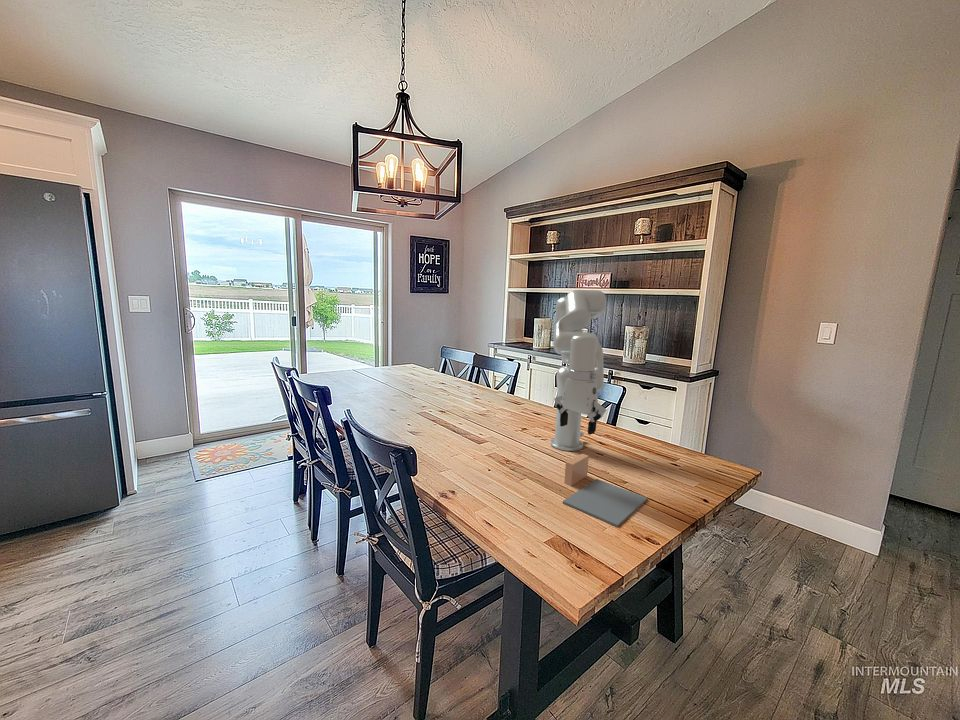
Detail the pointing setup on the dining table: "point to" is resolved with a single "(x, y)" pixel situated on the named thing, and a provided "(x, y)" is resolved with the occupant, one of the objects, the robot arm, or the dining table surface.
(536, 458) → the dining table surface
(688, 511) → the dining table surface
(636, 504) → the rubber mat
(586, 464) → the terracotta tile
